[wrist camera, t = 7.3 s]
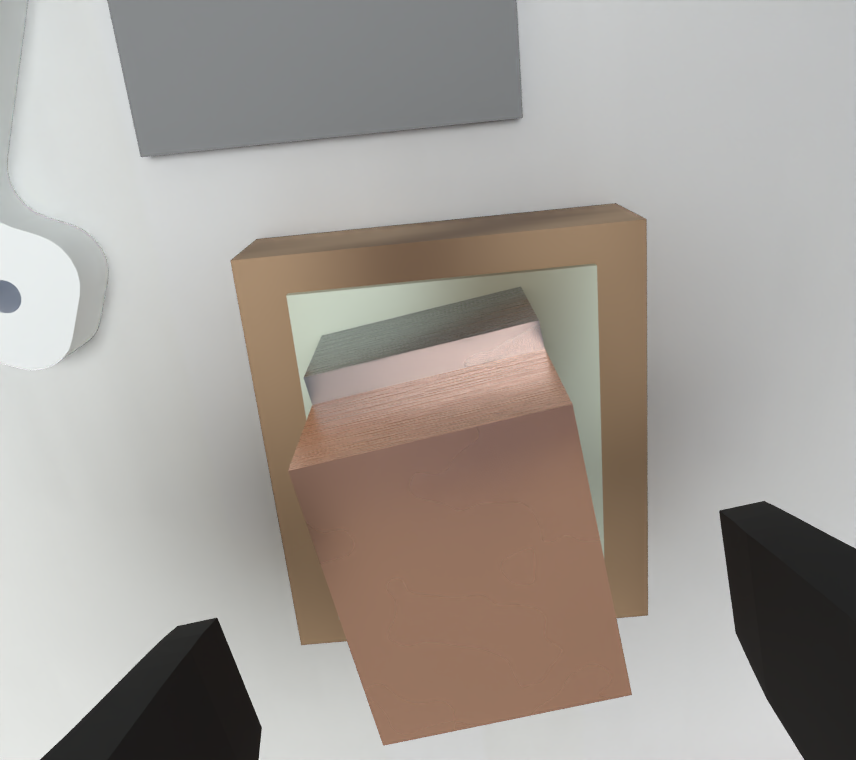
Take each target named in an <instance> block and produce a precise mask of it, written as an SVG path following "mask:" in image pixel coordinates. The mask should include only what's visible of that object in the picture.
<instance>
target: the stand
mask: <svg viewBox="0 0 856 760" xmlns="http://www.w3.org/2000/svg"><path fill="white" fill-rule="evenodd" d="M231 266H232V271H233V277H234V282H235V288H236V293H237V299H238V304H239V309H240V315H241V320H242V326H243V331H244V337H245V342H246V347H247V353H248V358H249V364H250V369H251V375H252V380H253V385H254V391H255V396H256V402H257V407H258V413H259V418H260V424H261V429H262V434H263V440H264V445H265V451H266V456H267V462H268V467H269V472H270V478H271V483H272V489H273V494H274V500H275V505H276V510H277V516H278V521H279V527H280V532H281V538H282V543H283V548H284V554H285V559H286V565H287V570H288V576H289V581H290V586H291V592H292V597H293V603H294V608H295V614H296V619H297V624H298V630H299V635H300V641H301V645H307V644H319V643H331V642H342V641H347V639H346V636H345V634H344V631H343V628H342V625H341V622H340V619H339V616H338V613H337V610H336V608H335V605H334V602H333V599H332V596H331V593H330V590H329V587H328V585H327V582H326V579H325V576H324V573H323V570H322V567H321V564H320V562H319V559H318V556H317V553H316V550H315V547H314V544H313V541H312V538H311V536H310V533H309V530H308V527H307V524H306V521H305V518H304V515H303V513H302V510H301V507H300V504H299V501H298V498H297V495H296V492H295V489H294V487H293V484H292V481H291V478H290V475H289V472H288V469H289V467H290V464H291V461H292V459H293V456H294V453H295V450H296V448H297V445H298V442H299V439H300V437H301V434H302V431H303V429H304V426H305V423H306V420H307V418H308V415H309V412H310V410H311V407H312V403H311V399H310V396H309V393H308V390H307V387H306V384H305V381H304V375H305V373H306V371H307V368H308V366H309V364H310V361H311V359H312V357H313V355H314V352H315V350H316V348H317V345H318V343H319V341H320V339H321V336H322V335H326V334H330V333H334V332H338V331H342V330H346V329H350V328H354V327H358V326H362V325H366V324H371V323H375V322H379V321H383V320H387V319H391V318H395V317H399V316H403V315H407V314H411V313H415V312H419V311H423V310H427V309H431V308H435V307H439V306H443V305H447V304H451V303H455V302H459V301H464V300H468V299H472V298H476V297H480V296H484V295H488V294H492V293H496V292H500V291H504V290H508V289H512V288H516V287H520V286H521V288H522V290H523V292H524V293H525V295H526V297H527V299H528V301H529V303H530V305H531V306H532V308H533V310H534V312H535V314H536V316H537V318H538V320H539V323H540V328H541V332H542V337H543V342H544V347H545V350H546V352H547V354H548V356H549V358H550V360H551V362H552V364H553V366H554V368H555V370H556V372H557V374H558V376H559V378H560V380H561V382H562V384H563V386H564V388H565V390H566V392H567V394H568V396H569V398H570V400H571V402H572V404H573V409H574V414H575V419H576V423H577V428H578V433H579V438H580V443H581V448H582V453H583V458H584V463H585V468H586V472H587V477H588V482H589V487H590V492H591V497H592V502H593V507H594V512H595V517H596V521H597V526H598V531H599V536H600V541H601V546H602V551H603V556H604V561H605V566H606V570H607V575H608V580H609V585H610V590H611V595H612V600H613V605H614V610H615V615H616V618H623V617H634V616H646V615H648V522H647V241H646V219H645V218H643V217H641V216H639V215H637V214H635V213H633V212H631V211H629V210H627V209H625V208H624V207H622V206H620V205H618V204H616V203H615V204H605V205H595V206H585V207H575V208H565V209H555V210H545V211H535V212H525V213H515V214H505V215H495V216H485V217H475V218H465V219H455V220H445V221H435V222H425V223H415V224H405V225H395V226H385V227H374V228H364V229H354V230H344V231H334V232H324V233H314V234H304V235H294V236H284V237H274V238H264V239H256V240H255V241H254V242H253V243H251V244H250V245H249V246H248V247H246V248H245V249H244V250H243V251H242V252H240V253H239V254H238V255H237V256H235V257H234V258H233V259H232V260H231Z"/></svg>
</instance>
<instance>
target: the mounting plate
mask: <svg viewBox="0 0 856 760" xmlns="http://www.w3.org/2000/svg"><path fill="white" fill-rule="evenodd" d="M27 6H28V0H0V363H1V364H4V365H8V366H11V367H15V368H19V369H25V370H43V369H46V368H48V367H51V366H54V365H55V364H57V363H58V362H59V361H61V360H62V359H64V358H65V357H66V356H68V355H69V354H71V353H72V352H73V351H75V350H76V349H78V348H79V347H80V346H82V345H83V344H85V343H86V342H87V341H89V340H90V339H91V338H92V337H93V335H94V334H95V333H96V331H97V330H98V327H99V324H100V321H101V316H102V310H103V305H104V299H105V294H106V288H107V283H108V264H107V260H106V256H105V254H104V253H103V251H102V249H101V247H100V245H99V244H98V243H97V242H96V241H95V239H94V238H93V237H92V236H91V235H89V234H88V233H87V232H85V231H84V230H83V229H81V228H78V227H76V226H74V225H72V224H69V223H65V222H62V221H59V220H55V219H52V218H49V217H46V216H44V215H41V214H39V213H37V212H35V211H34V210H32V209H31V208H30V207H28V206H27V205H26V204H25V203H24V202H23V201H22V200H21V199H20V197H19V196H18V195H17V194H16V192H15V190H14V188H13V186H12V184H11V182H10V178H9V174H8V167H7V158H8V150H9V143H10V135H11V128H12V120H13V112H14V105H15V97H16V90H17V82H18V75H19V67H20V59H21V52H22V44H23V37H24V29H25V21H26V14H27Z"/></svg>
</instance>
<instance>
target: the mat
mask: <svg viewBox="0 0 856 760" xmlns="http://www.w3.org/2000/svg"><path fill="white" fill-rule="evenodd" d="M107 1H108V6H109V10H110V15H111V20H112V24H113V29H114V34H115V38H116V43H117V48H118V52H119V57H120V62H121V67H122V71H123V76H124V81H125V85H126V90H127V95H128V99H129V104H130V109H131V113H132V118H133V123H134V127H135V132H136V137H137V141H138V146H139V151H140V156H141V157H148V156H157V155H167V154H177V153H186V152H196V151H206V150H216V149H225V148H235V147H245V146H254V145H264V144H274V143H284V142H293V141H303V140H313V139H322V138H332V137H342V136H352V135H361V134H371V133H381V132H390V131H400V130H410V129H419V128H429V127H439V126H449V125H458V124H468V123H478V122H487V121H497V120H507V119H517V118H523V115H522V96H521V78H520V59H519V40H518V22H517V3H516V0H107Z"/></svg>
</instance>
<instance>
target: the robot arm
mask: <svg viewBox="0 0 856 760" xmlns="http://www.w3.org/2000/svg"><path fill="white" fill-rule="evenodd" d="M719 513H720V521H721V528H722V535H723V543H724V550H725V557H726V565H727V572H728V580H729V587H730V594H731V602H732V609H733V616H734V624H735V631H736V634H737V637H738V639H739V641H740V643H741V645H742V647H743V650H744V652H745V654H746V656H747V658H748V660H749V663H750V665H751V667H752V669H753V671H754V673H755V675H756V677H757V680H758V682H759V684H760V686H761V688H762V690H763V692H764V694H765V696H766V698H767V700H768V702H769V703H770V705H771V707H772V708H773V710H774V712H775V713H776V715H777V716H778V718H779V720H780V721H781V723H782V725H783V726H784V728H785V729H786V731H787V733H788V734H789V736H790V737H791V739H792V741H793V742H794V744H795V745H796V747H797V749H798V750H799V752H800V753H801V755H802V757H803V758H804V760H856V549H855V548H853V547H851V546H849V545H847V544H845V543H844V542H842V541H840V540H838V539H836V538H834V537H832V536H830V535H828V534H827V533H825V532H823V531H821V530H819V529H817V528H815V527H813V526H811V525H810V524H808V523H806V522H804V521H802V520H800V519H798V518H796V517H795V516H793V515H791V514H789V513H787V512H785V511H783V510H781V509H779V508H777V507H775V506H773V505H771V504H769V503H767V502H765V501H763V502H758V503H753V504H749V505H744V506H739V507H734V508H730V509H725V510H720V511H719ZM261 729H262V727H261V725H260V722H259V720H258V717H257V715H256V712H255V710H254V707H253V705H252V702H251V700H250V698H249V695H248V693H247V690H246V688H245V685H244V683H243V680H242V678H241V675H240V673H239V670H238V668H237V665H236V663H235V660H234V658H233V656H232V653H231V651H230V648H229V646H228V643H227V641H226V638H225V636H224V633H223V631H222V628H221V626H220V623H219V621H218V618H214V619H209V620H204V621H200V622H195V623H190V624H186V625H181V626H177V627H176V628H175V629H174V630H172V631H171V632H170V633H169V634H168V635H167V636H165V637H164V638H163V639H162V640H161V641H160V642H159V643H158V644H157V645H156V646H155V647H154V648H153V649H152V650H151V651H150V652H149V653H148V654H147V655H146V656H145V657H144V658H142V659H141V660H140V661H139V662H138V663H137V665H136V666H135V667H134V668H133V669H132V670H131V671H130V672H129V673H128V674H127V675H126V676H125V677H124V678H123V679H122V680H121V681H120V682H119V683H118V684H117V685H116V686H115V687H114V688H113V689H112V690H111V691H110V692H109V693H108V694H107V695H106V696H105V697H104V698H103V699H102V700H101V701H100V702H99V703H98V704H97V705H96V706H95V707H94V708H93V709H92V710H91V711H90V712H89V713H88V714H87V715H86V716H85V717H84V718H83V719H82V720H81V721H80V722H79V723H78V724H77V725H76V726H75V727H74V728H73V729H72V730H71V731H70V732H69V733H68V734H67V735H66V736H65V737H64V738H63V739H62V740H61V741H59V742H58V743H57V744H56V745H55V746H54V747H53V748H52V749H51V750H50V751H49V752H48V753H47V754H46V755H45V756H44V757H42V758H41V759H40V760H258V758H259V749H260V739H261Z"/></svg>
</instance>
